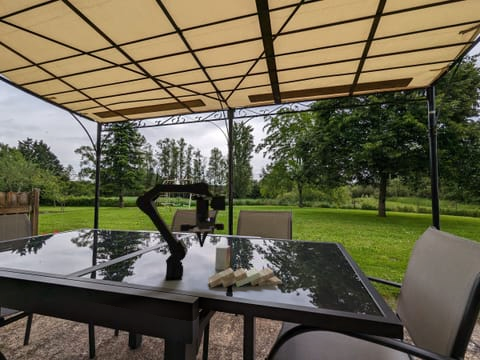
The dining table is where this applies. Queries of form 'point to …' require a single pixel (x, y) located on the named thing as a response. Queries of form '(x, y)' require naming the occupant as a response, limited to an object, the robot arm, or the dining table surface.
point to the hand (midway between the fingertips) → (201, 247)
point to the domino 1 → (221, 277)
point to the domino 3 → (249, 277)
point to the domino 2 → (239, 276)
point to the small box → (222, 257)
